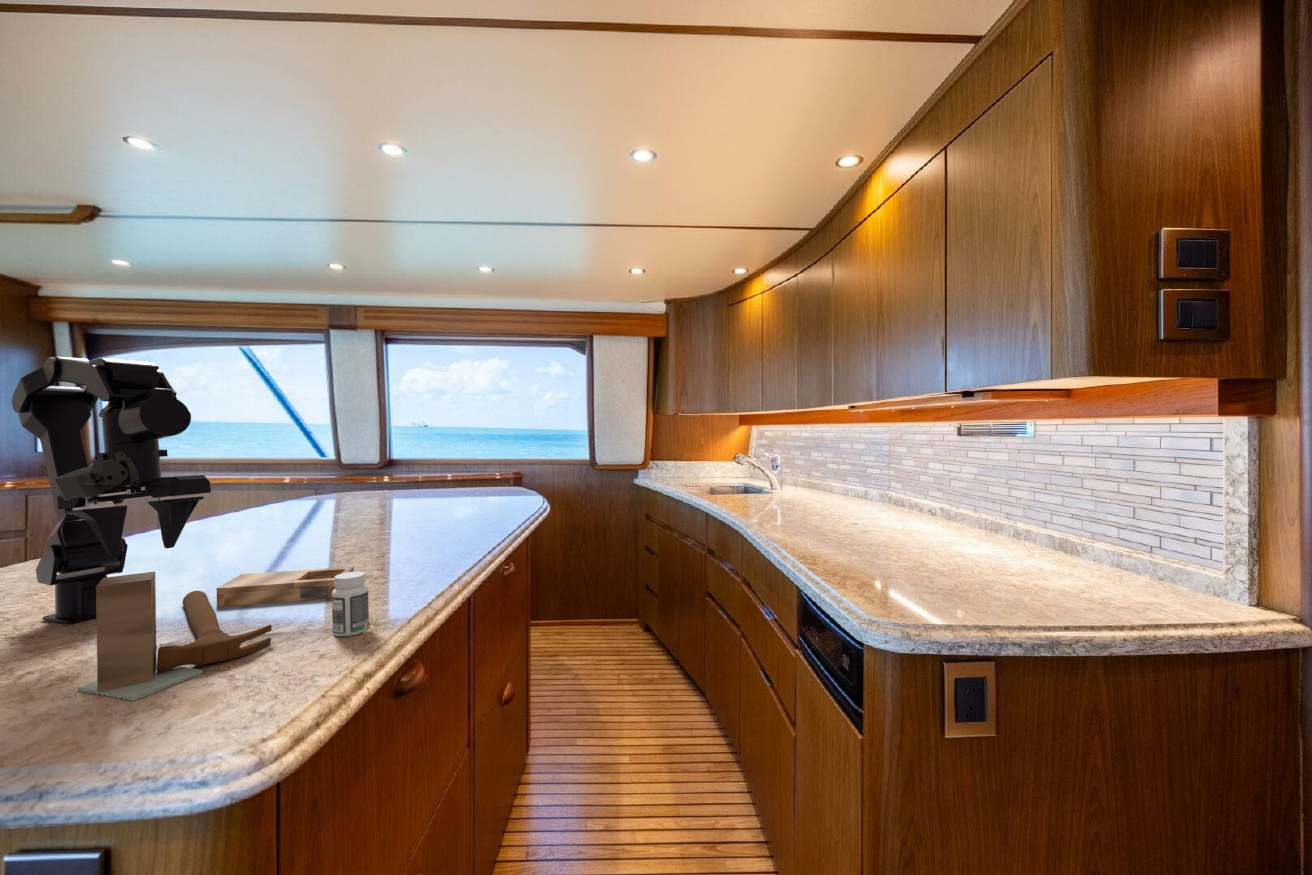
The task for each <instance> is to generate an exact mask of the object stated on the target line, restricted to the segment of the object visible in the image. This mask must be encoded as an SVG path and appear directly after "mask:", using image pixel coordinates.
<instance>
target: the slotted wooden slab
mask: <svg viewBox="0 0 1312 875" xmlns="http://www.w3.org/2000/svg"><path fill="white" fill-rule="evenodd" d="M354 569H355V567H354V566H345V567H332V568H331V567H329V568H316V569H301V570H297V569H296V570H284V571H269V572H255V573H254V572H252V573H240V574H239V575H238V576H236V577H233V579H231V580H229V581H227V582H225V583H224V584H222V585H220V586H219V587H216V607H217V608H221V607H231V606H233V607H234V606H235V607H236V606H246V605H257V604H259V605H260V604H270V603H284V602H295V601H296V602H297V601H307V600H320V599H332V592H333V590H334V589H336V587H335V585H334V577H335V576H336V575H339V574H342V573H347V572H355V570H354Z"/></svg>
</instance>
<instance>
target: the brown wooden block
mask: <svg viewBox="0 0 1312 875" xmlns="http://www.w3.org/2000/svg"><path fill="white" fill-rule="evenodd" d="M156 589H157V588H156V571H147V572H141V573H140V572H139V573H132V574H124V575H116V576H109V577H108V576H107V577H105V578H103V579H102V580H101V581H100V582H99V584H98V585H97V586H96V664H97V666H96V669H97V672H96V674H97V675H96V676H97V677H96V678H97V679H96V681H98V693H99V692H104V691H109V690H113V689H118V688H123V687H127V686H132V685H137V684H141V683H146V682H151V681H153V678H154V675H155V671H156V668H157V611H156V609H157V606H156V605H157V597H156V596H157V595H156Z"/></svg>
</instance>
